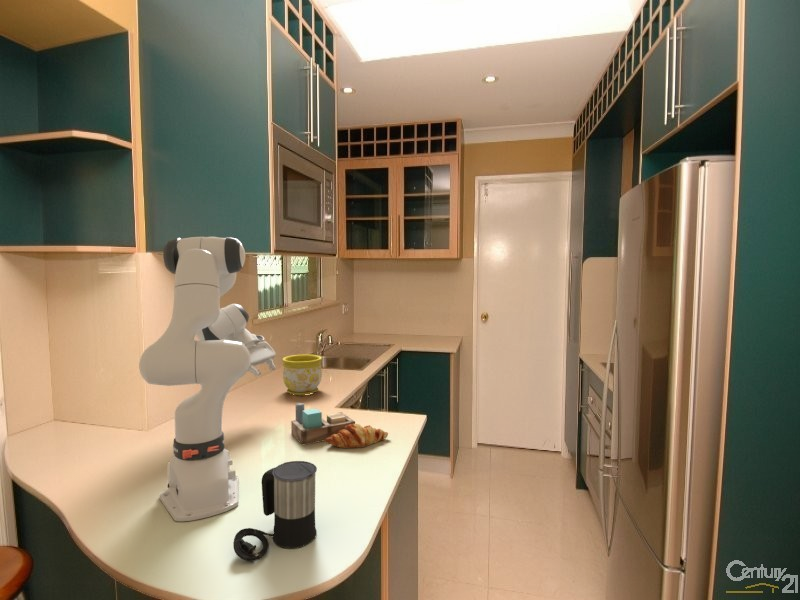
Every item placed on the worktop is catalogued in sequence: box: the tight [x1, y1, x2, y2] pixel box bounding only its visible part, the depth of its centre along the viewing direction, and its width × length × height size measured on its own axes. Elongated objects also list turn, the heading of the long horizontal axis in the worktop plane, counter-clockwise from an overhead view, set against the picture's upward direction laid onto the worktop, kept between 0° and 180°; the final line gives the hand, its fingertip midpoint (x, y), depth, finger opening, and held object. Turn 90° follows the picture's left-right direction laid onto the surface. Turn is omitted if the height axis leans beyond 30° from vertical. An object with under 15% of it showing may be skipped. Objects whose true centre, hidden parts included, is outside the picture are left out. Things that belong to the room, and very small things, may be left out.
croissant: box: [325, 423, 389, 449], centre depth 146 cm, size 21×10×8 cm, turn 112°
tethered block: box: [295, 402, 323, 429], centre depth 156 cm, size 17×5×9 cm, turn 31°
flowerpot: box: [282, 354, 323, 396], centre depth 207 cm, size 18×18×16 cm
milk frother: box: [232, 460, 318, 562], centre depth 92 cm, size 14×16×15 cm
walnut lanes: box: [290, 411, 356, 445], centre depth 154 cm, size 12×19×4 cm, turn 121°
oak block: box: [326, 412, 345, 425], centre depth 156 cm, size 5×5×6 cm
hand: (266, 372), depth 165 cm, fingers open, 8 cm apart
